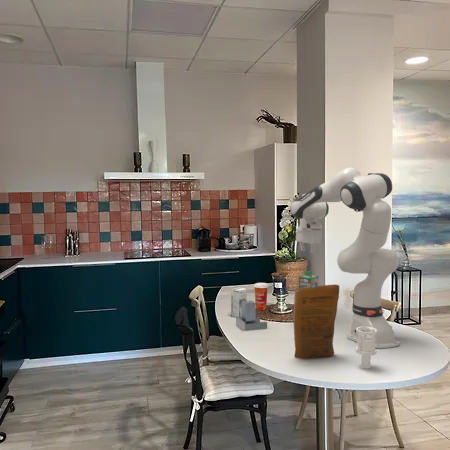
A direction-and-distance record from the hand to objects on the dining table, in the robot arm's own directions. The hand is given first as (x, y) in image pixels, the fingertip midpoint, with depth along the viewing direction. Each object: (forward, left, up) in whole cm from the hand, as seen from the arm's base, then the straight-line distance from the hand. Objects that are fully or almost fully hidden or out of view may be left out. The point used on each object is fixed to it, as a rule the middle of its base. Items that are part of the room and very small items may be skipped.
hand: (307, 252), depth 223 cm
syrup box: (+12, +33, -34) cm, 48 cm away
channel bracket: (-7, +33, -33) cm, 47 cm away
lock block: (-7, +35, -33) cm, 49 cm away
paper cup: (+21, +17, -34) cm, 43 cm away
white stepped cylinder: (-66, +12, -34) cm, 75 cm away
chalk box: (+45, -25, -34) cm, 61 cm away
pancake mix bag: (-51, +24, -34) cm, 66 cm away
